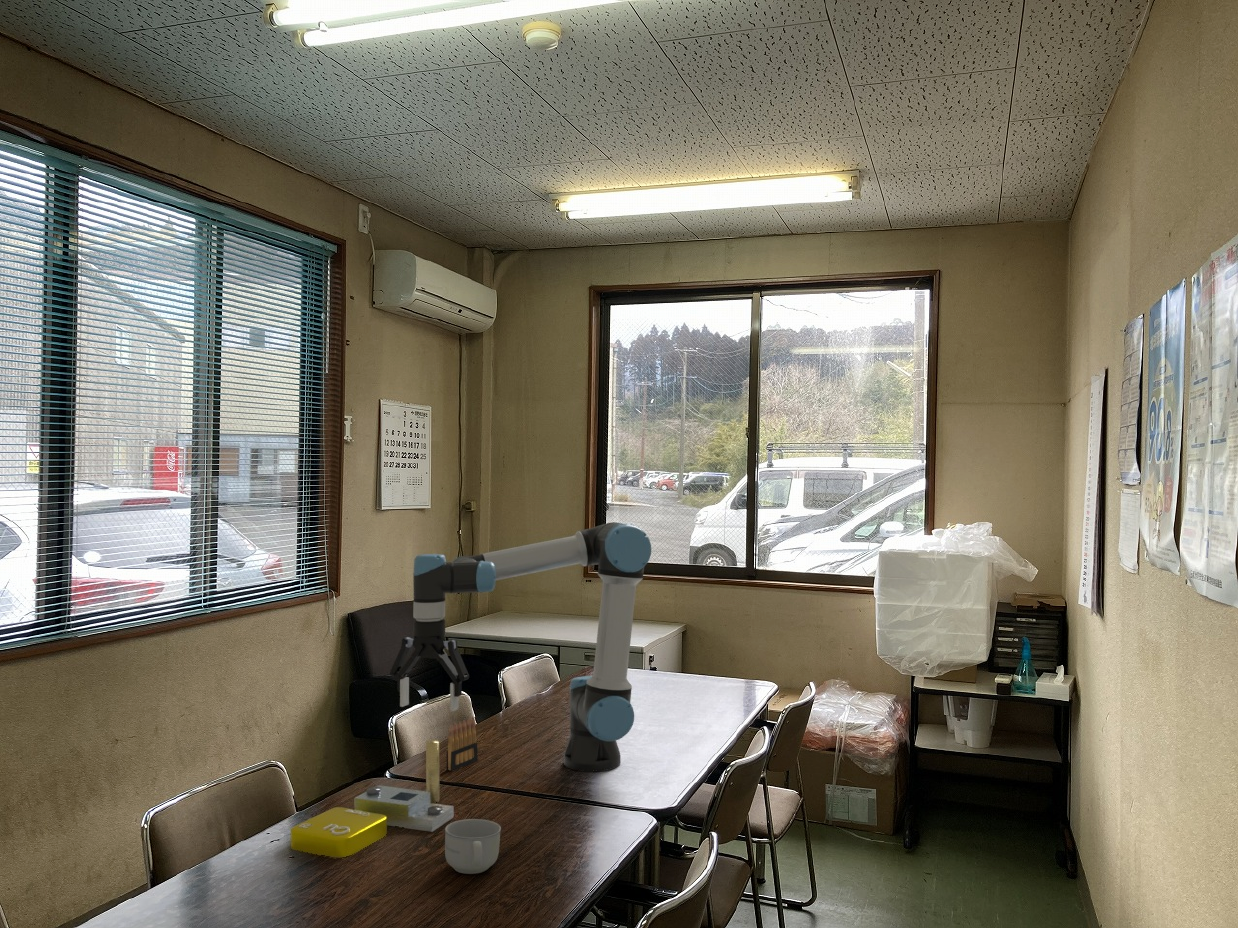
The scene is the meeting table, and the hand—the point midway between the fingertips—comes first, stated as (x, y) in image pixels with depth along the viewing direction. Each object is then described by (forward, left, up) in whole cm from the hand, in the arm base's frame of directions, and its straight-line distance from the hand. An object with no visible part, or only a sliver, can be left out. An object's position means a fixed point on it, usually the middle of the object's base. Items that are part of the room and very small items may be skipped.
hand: (429, 707), depth 219 cm
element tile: (+4, +29, -22) cm, 37 cm away
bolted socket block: (-2, +14, -21) cm, 26 cm away
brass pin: (-2, +2, -21) cm, 22 cm away
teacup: (-30, +33, -22) cm, 50 cm away
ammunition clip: (+5, -24, -22) cm, 33 cm away
